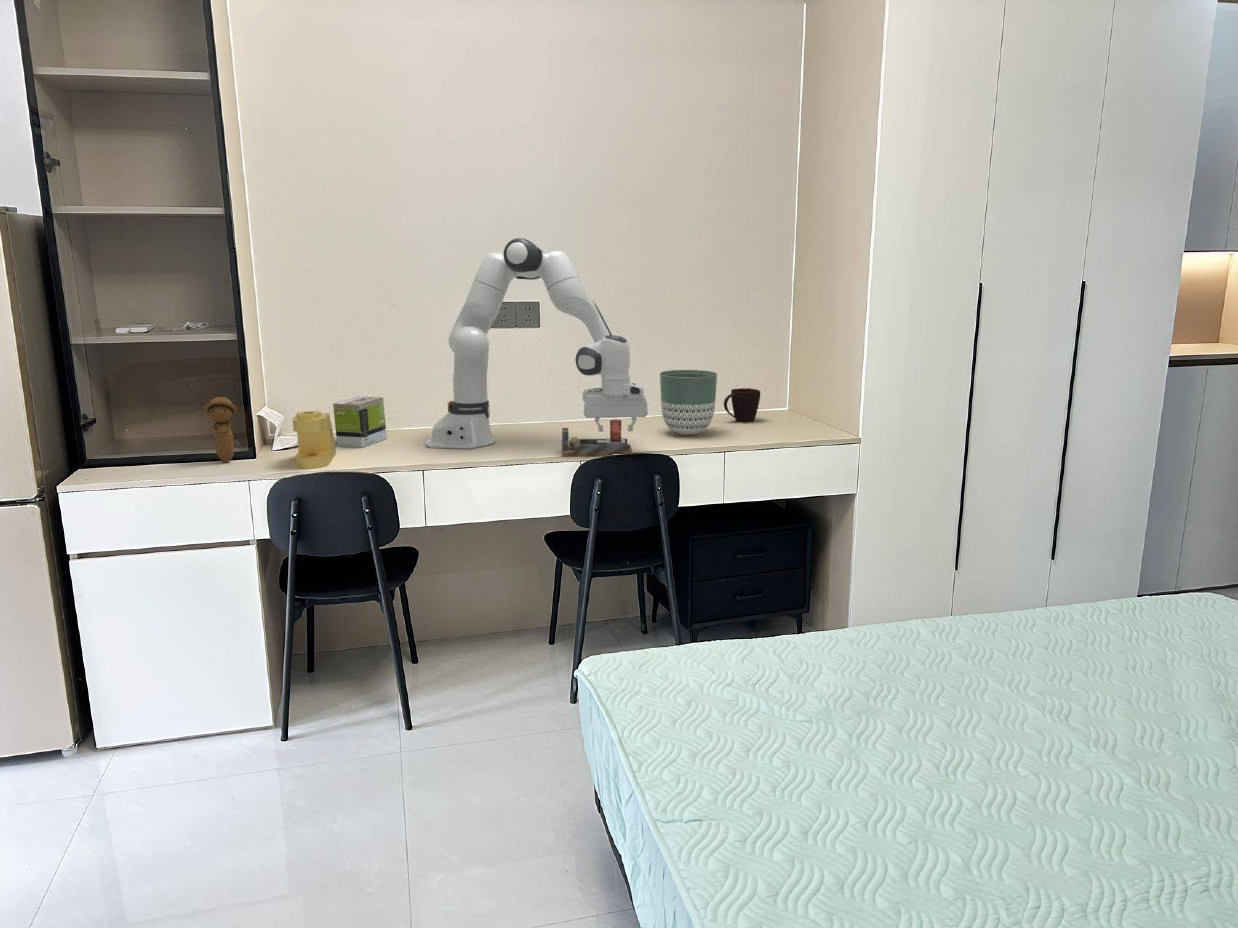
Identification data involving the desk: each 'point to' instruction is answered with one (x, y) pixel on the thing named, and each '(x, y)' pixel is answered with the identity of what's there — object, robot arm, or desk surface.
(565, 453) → the press bed
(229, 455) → the figurine
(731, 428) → the desk surface
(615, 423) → the ram
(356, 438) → the tea box
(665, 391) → the planter
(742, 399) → the cup
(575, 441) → the walnut ball
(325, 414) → the clamp
